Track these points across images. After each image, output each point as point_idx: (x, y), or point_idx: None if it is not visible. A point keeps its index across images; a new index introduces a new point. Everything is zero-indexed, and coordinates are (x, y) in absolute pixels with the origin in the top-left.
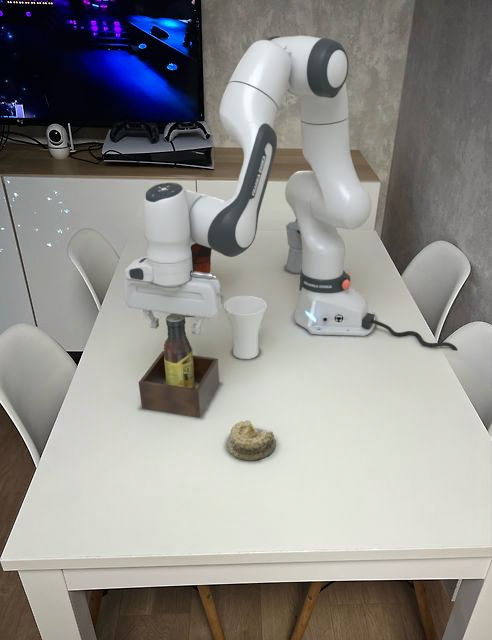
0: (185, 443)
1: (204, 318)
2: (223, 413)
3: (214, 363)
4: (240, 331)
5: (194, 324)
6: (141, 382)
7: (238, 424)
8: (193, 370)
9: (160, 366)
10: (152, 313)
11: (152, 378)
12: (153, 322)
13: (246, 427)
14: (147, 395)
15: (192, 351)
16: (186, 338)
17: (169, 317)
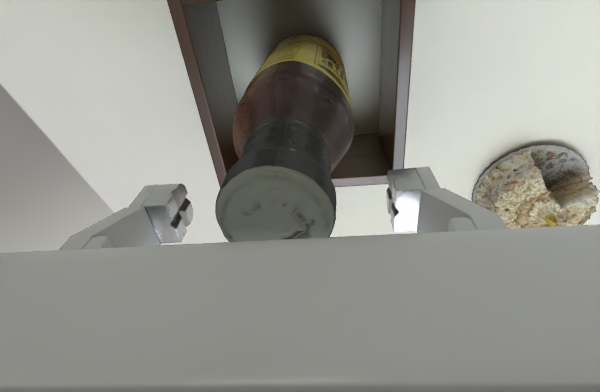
0: (383, 218)
1: (484, 208)
2: (442, 105)
3: (412, 8)
4: None
5: (403, 206)
6: None
7: (512, 199)
8: (347, 85)
9: (204, 50)
10: (118, 223)
11: (222, 116)
12: (171, 240)
13: (532, 201)
14: None
15: (349, 101)
16: (334, 146)
17: (241, 229)
